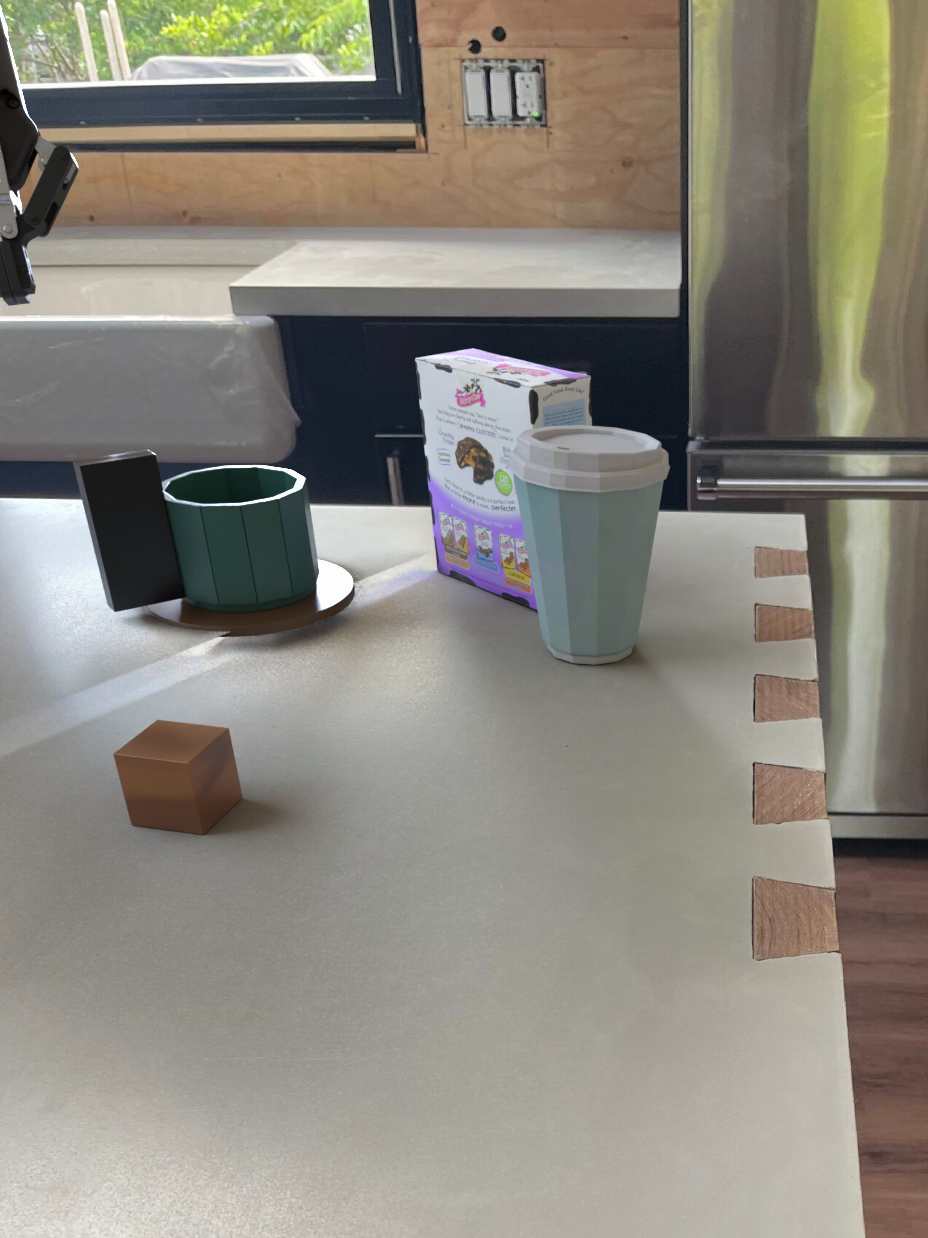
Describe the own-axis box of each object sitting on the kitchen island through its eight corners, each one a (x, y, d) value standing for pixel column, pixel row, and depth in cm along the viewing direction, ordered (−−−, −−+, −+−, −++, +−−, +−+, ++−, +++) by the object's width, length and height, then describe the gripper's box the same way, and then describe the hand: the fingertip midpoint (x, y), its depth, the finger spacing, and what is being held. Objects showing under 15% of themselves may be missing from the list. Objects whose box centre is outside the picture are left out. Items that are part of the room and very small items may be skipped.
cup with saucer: (305, 552, 108) (282, 405, 102) (390, 607, 98) (370, 448, 92) (83, 597, 99) (42, 438, 93) (152, 662, 89) (112, 490, 83)
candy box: (600, 597, 104) (595, 373, 94) (542, 616, 100) (530, 385, 91) (490, 554, 112) (474, 343, 102) (432, 570, 108) (411, 353, 99)
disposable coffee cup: (557, 612, 101) (548, 405, 92) (691, 633, 98) (694, 421, 90) (494, 665, 93) (477, 442, 84) (638, 688, 90) (636, 461, 81)
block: (203, 835, 73) (187, 763, 70) (131, 825, 74) (112, 753, 71) (243, 797, 76) (229, 727, 74) (173, 788, 77) (157, 719, 75)
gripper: (-179, 14, 87) (-101, 297, 91) (35, -1, 89) (103, 275, 93) (-136, 66, 94) (-65, 326, 98) (61, 51, 97) (123, 305, 100)
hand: (17, 301), depth 95 cm, fingers closed
